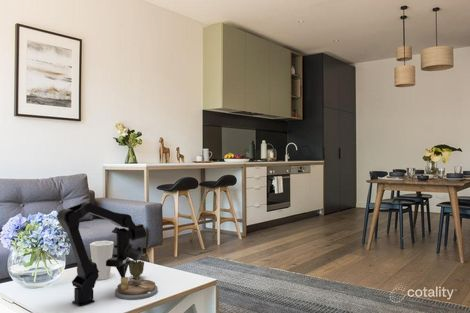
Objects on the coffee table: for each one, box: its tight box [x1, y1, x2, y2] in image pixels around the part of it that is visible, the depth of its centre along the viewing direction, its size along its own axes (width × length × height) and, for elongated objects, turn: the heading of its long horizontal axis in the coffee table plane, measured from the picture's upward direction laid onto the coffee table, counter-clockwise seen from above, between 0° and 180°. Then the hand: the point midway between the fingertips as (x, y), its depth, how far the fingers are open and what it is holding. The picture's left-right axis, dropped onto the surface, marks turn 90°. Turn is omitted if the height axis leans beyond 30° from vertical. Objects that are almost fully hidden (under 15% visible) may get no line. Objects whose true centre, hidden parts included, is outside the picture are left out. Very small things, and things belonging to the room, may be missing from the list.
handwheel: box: [116, 276, 156, 295], centre depth 176 cm, size 16×16×6 cm
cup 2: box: [128, 260, 145, 280], centre depth 197 cm, size 8×7×8 cm
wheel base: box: [114, 284, 158, 301], centre depth 176 cm, size 18×18×2 cm
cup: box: [89, 240, 115, 281], centre depth 198 cm, size 11×10×17 cm
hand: (123, 277), depth 177 cm, fingers closed
